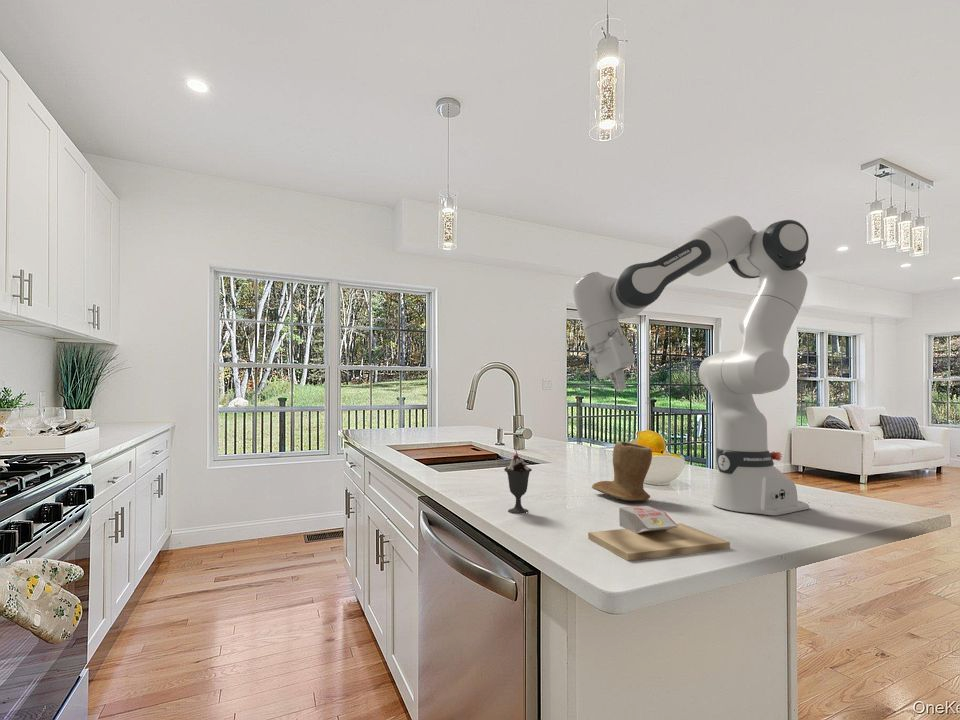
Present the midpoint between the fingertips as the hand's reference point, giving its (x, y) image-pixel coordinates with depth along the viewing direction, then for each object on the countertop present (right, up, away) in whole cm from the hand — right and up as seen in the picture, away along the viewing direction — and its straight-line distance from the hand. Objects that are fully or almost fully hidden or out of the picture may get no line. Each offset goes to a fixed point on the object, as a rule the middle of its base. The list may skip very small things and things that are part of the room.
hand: (621, 390), depth 126 cm
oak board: (-1, -28, -27) cm, 38 cm away
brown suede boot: (+5, -30, +13) cm, 33 cm away
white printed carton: (-2, -25, -17) cm, 31 cm away
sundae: (-25, -29, -2) cm, 39 cm away
